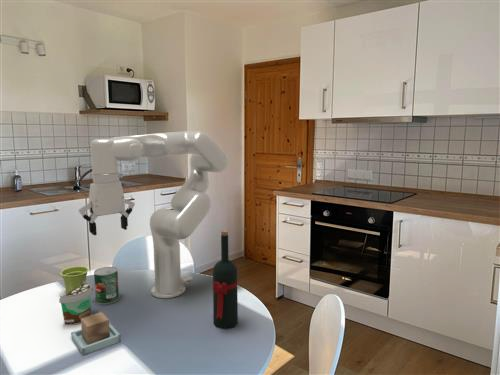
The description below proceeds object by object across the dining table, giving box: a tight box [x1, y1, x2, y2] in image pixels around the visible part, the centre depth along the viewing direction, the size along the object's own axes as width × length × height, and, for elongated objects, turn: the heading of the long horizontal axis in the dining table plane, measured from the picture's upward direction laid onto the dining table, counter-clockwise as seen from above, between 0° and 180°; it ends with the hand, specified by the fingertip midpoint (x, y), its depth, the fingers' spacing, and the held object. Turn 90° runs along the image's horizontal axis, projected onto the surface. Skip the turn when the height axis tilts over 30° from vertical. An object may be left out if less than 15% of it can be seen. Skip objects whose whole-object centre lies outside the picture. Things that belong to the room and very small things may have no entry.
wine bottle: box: [212, 229, 239, 330], centre depth 118 cm, size 8×10×30 cm
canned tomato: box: [93, 266, 120, 305], centre depth 136 cm, size 8×8×11 cm
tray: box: [70, 322, 122, 356], centre depth 111 cm, size 11×11×2 cm
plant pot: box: [60, 265, 90, 295], centre depth 142 cm, size 9×9×9 cm
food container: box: [58, 281, 94, 325], centre depth 123 cm, size 12×6×10 cm, turn 168°
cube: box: [80, 311, 110, 345], centre depth 111 cm, size 6×6×6 cm
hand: (109, 231), depth 122 cm, fingers open, 9 cm apart
